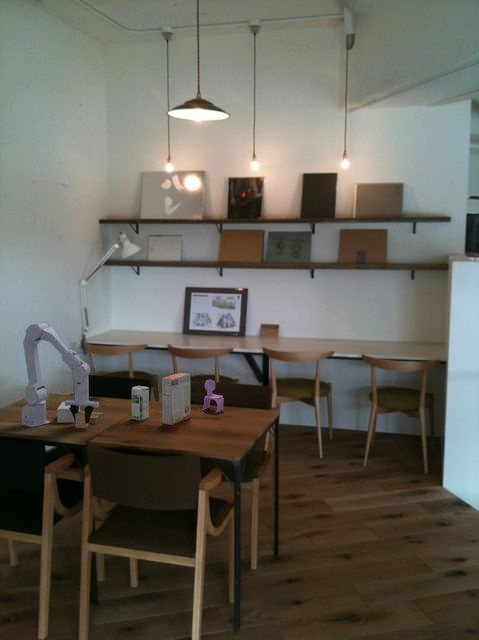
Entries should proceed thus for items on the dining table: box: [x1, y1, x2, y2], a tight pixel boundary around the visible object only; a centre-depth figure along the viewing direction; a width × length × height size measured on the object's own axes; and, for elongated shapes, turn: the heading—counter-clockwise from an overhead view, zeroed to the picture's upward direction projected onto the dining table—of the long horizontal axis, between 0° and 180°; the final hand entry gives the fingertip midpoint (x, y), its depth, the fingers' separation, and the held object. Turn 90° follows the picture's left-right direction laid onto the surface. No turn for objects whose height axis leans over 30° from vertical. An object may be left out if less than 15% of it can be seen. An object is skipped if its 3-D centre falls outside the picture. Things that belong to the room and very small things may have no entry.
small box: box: [56, 401, 81, 424], centre depth 254 cm, size 8×6×13 cm
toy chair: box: [201, 379, 225, 413], centre depth 271 cm, size 8×9×15 cm
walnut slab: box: [88, 411, 105, 425], centre depth 252 cm, size 9×9×3 cm
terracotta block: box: [75, 411, 89, 429], centre depth 242 cm, size 4×4×6 cm
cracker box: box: [161, 372, 191, 426], centre depth 253 cm, size 14×6×21 cm, turn 149°
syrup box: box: [131, 385, 150, 421], centre depth 256 cm, size 6×6×14 cm
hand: (81, 422), depth 243 cm, fingers open, 4 cm apart
